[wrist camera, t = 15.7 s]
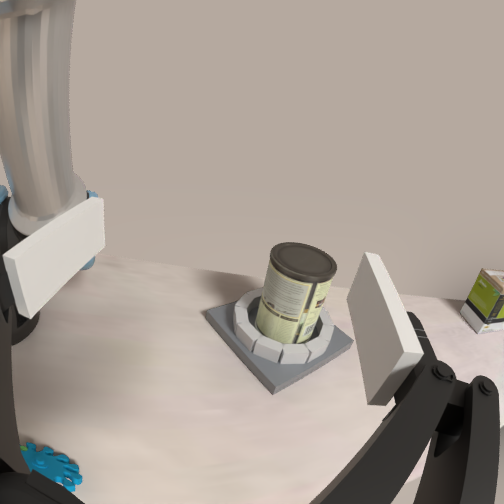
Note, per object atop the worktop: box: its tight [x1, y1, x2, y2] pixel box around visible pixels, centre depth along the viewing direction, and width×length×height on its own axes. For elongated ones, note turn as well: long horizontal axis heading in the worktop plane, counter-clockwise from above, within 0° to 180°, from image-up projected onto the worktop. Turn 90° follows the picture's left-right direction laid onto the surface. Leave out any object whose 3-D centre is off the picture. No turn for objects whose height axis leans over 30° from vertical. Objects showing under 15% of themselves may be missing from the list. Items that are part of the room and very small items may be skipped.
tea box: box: [460, 268, 504, 334], centre depth 63 cm, size 15×10×15 cm
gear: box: [20, 442, 82, 492], centre depth 20 cm, size 11×6×10 cm
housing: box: [206, 287, 354, 394], centre depth 52 cm, size 19×19×4 cm
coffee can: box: [255, 242, 337, 344], centre depth 49 cm, size 10×10×14 cm
